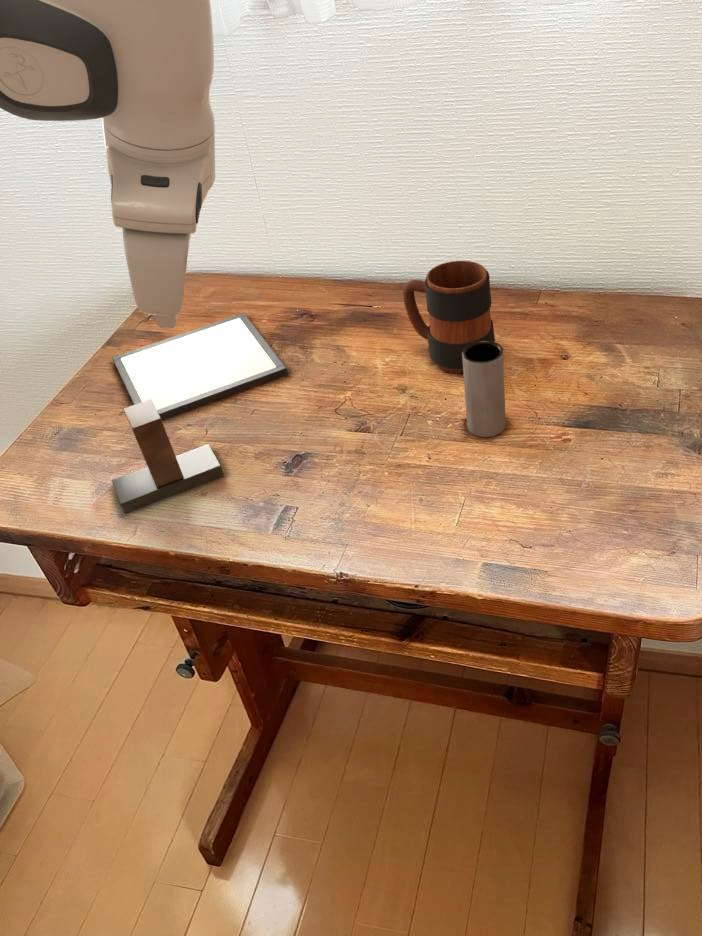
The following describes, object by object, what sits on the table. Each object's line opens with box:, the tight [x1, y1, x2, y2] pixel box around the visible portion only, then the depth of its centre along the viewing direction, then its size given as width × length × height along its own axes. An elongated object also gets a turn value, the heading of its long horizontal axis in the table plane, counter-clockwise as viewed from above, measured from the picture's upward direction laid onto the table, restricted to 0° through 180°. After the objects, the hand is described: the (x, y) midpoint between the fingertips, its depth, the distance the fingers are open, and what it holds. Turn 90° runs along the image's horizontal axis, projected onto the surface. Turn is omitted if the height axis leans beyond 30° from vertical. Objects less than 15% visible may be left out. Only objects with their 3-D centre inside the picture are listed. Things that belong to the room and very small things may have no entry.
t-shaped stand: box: [111, 399, 225, 514], centre depth 94 cm, size 12×5×10 cm, turn 117°
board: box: [111, 312, 289, 421], centre depth 115 cm, size 20×18×1 cm
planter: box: [462, 340, 506, 438], centre depth 95 cm, size 4×4×10 cm
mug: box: [402, 260, 496, 374], centre depth 106 cm, size 9×12×12 cm
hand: (170, 290), depth 81 cm, fingers open, 8 cm apart
